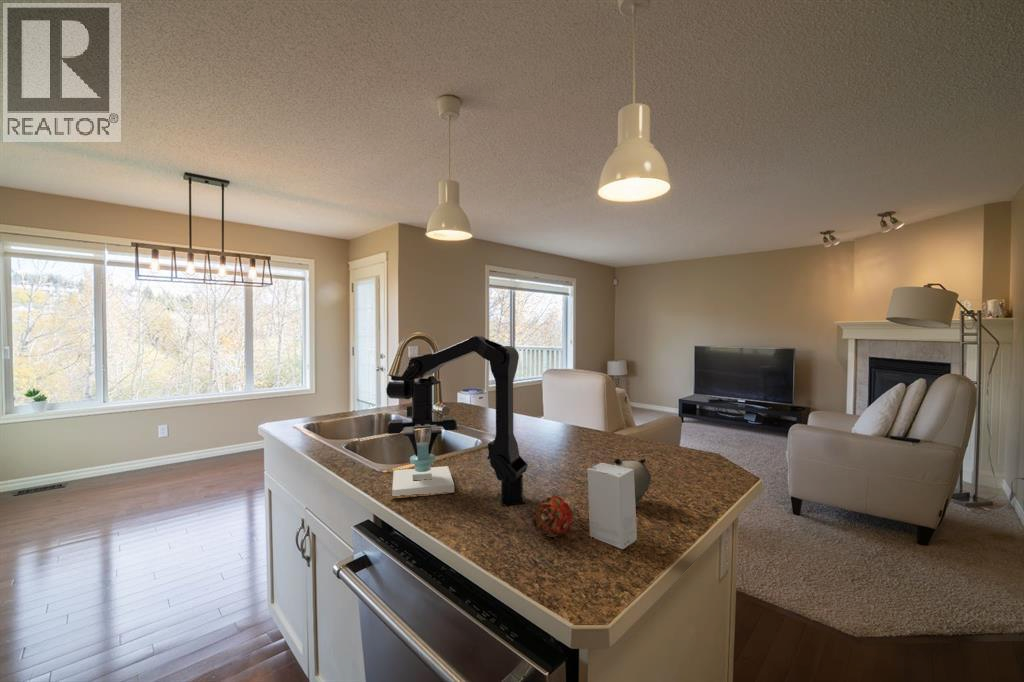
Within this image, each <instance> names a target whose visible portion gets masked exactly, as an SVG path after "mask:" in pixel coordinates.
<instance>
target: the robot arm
mask: <svg viewBox="0 0 1024 682" xmlns="http://www.w3.org/2000/svg"><path fill="white" fill-rule="evenodd" d="M475 353H476V354H477V355H479V356H480V357H482V358H483V359H484V360H487V361H489V366H490V371H491V374H492V375H493V379H494V381H495V437H494V439H493V440H492V441H490V442H489V443H488V444H487V450H488V454H487V455H488V456H487V460H489V464H490V467H491V468H492V469H493V470H494V472H495V475H496V479H497V481H500V493H497V495H496V496H497V498H498V497H499V498H498V499H500V500H499V502H500V501H501V502H500V503H501V505H502V504H511V505H515V504H514V503H520V504H524V503H523V502H527V503H528V500H527V498H526V497H525V496H524V475H523V474H524V473H526V472H527V470H528V467H529V466H528V465H529V464H528V463H527V462H526V461H525V459H523V458H522V456H521V455H520V451H519V446H518V445H519V443H518V442H517V439H516V437H515V435H514V379H515V376H516V373H517V369H518V365H519V359H520V356H519V355H520V353H519V351H518V350H517V349H516V348H515V347H513V346H512V345H510V346H509V345H502V344H500V343H498V342H495V341H493V340H490V339H488V338H486V337H484V336H482V335H472V336H470V337H469V338H467V339H464V340H462V341H461V342H460V341H459V342H458V343H455V344H453V345H451V346H448V347H446V348H444V349H441V350H439V351H436V352H433V353H427V354H422V355H417V356H415V355H414V356H412V357H411V358H410V359H409V361H408V366H407V368H406V369H405V370H404V372H403V374H402V375H399V374H395V375H394V374H393V375H390V377H391V378H390V380H389V381H388V384H387V387H386V388H385V389H386V390H385V392H386V395H387V397H388V398H390V399H396V400H397V399H398V400H410V399H411V406H410V405H407V406H406V418H408V419H410V418H411V421H407V422H403V421H404V420H403V419H390V420H389V421H388V423H387V434H388V435H389V434H390V435H394V434H395V435H396V434H401V433H402V432H403V436H404V437H407V438H408V439H409V441H410V444H411V447H412V448H413V451H414V452H413V453H414V455H416V456H417V440H416V432H415V430H416V429H428V428H429V437H428V446H429V455H430V454H431V453H432V448H433V446H434V443H435V442H436V439H437V437H438V435H440V434H442V433H443V432H442V429H443V430H445V431H455V430H457V429H458V427H457V424H458V422H457V420H456V418H455V417H454V416H442V417H441V418H440V420H434V418H433V417H434V416H433V414H434V412H433V411H434V410H433V409H434V408H433V407H434V403H433V401H434V400H433V397H434V396H433V395H434V392H433V386H435V385H439V384H440V383H441V382H440V381H439V380H438V378H436V377H435V376H434V373H436V372H438V371H439V370H441V368H442V367H443V366H445V365H447V364H450V363H452V362H455V361H457V360H459V359H462V358H464V357H467V356H469V355H472V354H475ZM431 375H432V376H431ZM426 376H428V378H425V377H426ZM415 380H416V381H415Z"/></svg>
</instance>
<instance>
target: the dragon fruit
mask: <svg viewBox="0 0 1024 682" xmlns="http://www.w3.org/2000/svg"><path fill="white" fill-rule="evenodd" d="M532 515H533V516H534V517H533V519H532V521H531V524H532V526H533V527H536V528H538V531H539V532H540V533H543V534H545V535H546V536H547V537H549V538H551V537H555V536H556V537H558V534H561V535H564V534H569V532H570V530H571V528H570V524H571V523H572V521H573V518H574V517H573V515H574V513H573V510H572V508H571V506H570V505H569V504H568V503H567V502H566V501H565V500H564V499H563V498H562V497H561V496H560V495H557V494H553V495H551V497H550V496H548V497H545V498H544V499H541V501H540V502H539V504H536V505H535V506H533V511H532ZM556 537H555V538H556Z"/></svg>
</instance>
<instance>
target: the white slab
mask: <svg viewBox="0 0 1024 682" xmlns="http://www.w3.org/2000/svg"><path fill="white" fill-rule="evenodd" d="M392 476H393V477H392V490H391V493H392V494H391V497H392V496H400V495H412V494H429V493H442V492H454V493H455V483H454V480H453V477H452V474H451V471H450V468H449V466H448V465H447V466H435V467H432V466H431V470H429V471H426V472H417V471H415V468H409V469H408V468H406V469H396V470H393V475H392ZM424 479H432V480H424ZM413 480H421V481H413Z"/></svg>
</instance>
